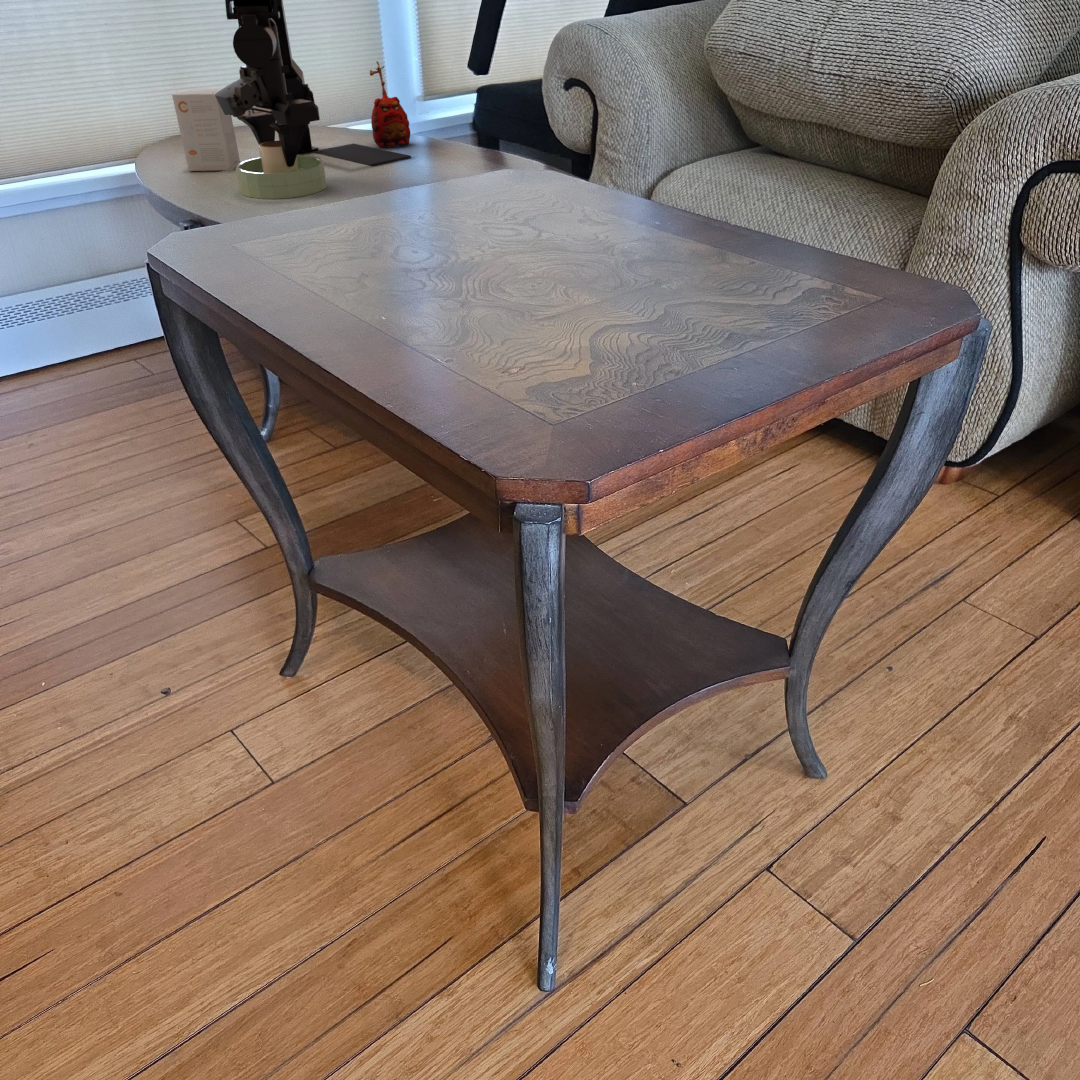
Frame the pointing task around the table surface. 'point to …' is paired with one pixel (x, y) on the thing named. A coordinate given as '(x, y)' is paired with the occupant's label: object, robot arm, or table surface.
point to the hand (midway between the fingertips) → (279, 163)
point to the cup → (274, 158)
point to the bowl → (281, 179)
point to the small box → (205, 131)
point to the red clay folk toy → (389, 119)
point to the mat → (361, 154)
